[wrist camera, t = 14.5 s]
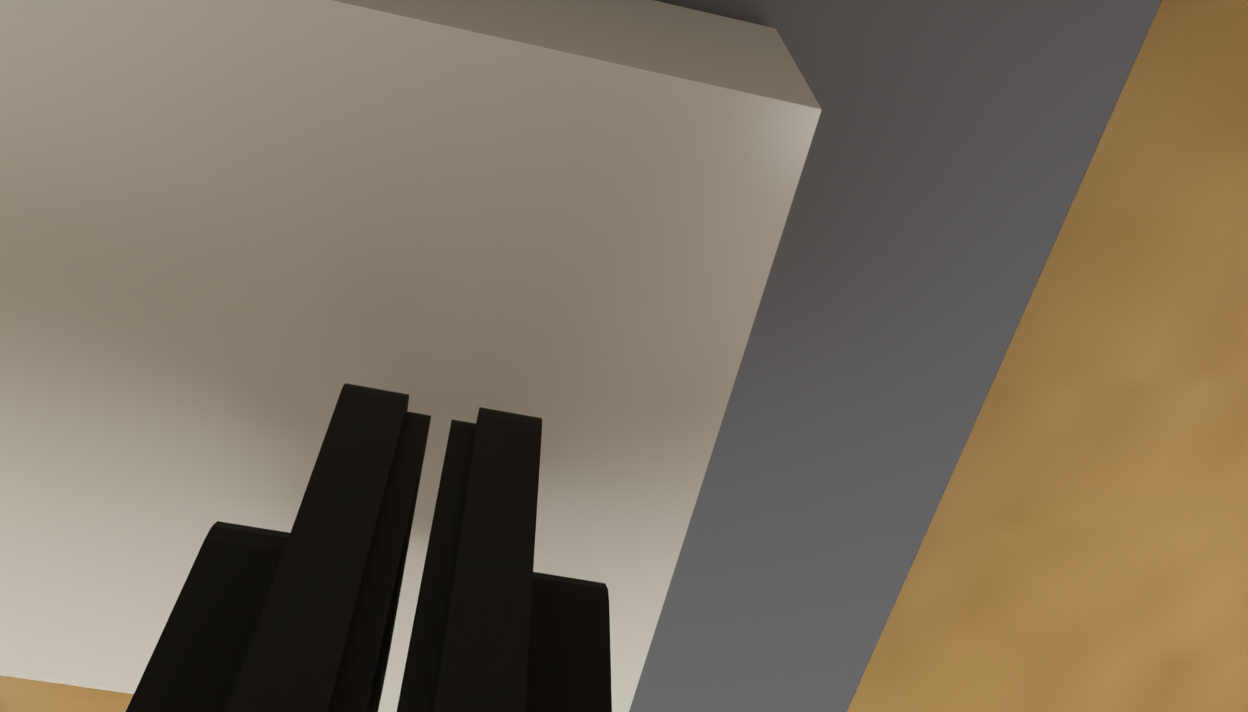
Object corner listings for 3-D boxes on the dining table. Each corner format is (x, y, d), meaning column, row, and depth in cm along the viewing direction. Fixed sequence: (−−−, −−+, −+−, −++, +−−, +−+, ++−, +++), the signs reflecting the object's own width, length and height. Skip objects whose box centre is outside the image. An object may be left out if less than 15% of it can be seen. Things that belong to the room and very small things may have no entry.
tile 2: (772, 23, 13) (-115, -184, 11) (821, 110, 10) (-331, -147, 9) (608, 589, 16) (-71, 479, 15) (612, 762, 14) (-212, 645, 12)
